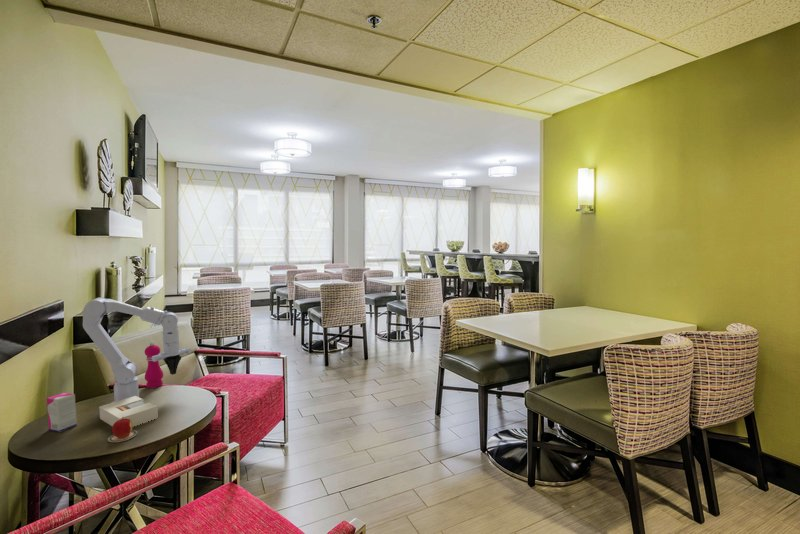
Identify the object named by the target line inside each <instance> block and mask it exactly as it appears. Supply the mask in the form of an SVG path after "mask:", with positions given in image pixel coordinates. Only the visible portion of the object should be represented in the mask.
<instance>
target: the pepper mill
mask: <svg viewBox="0 0 800 534" xmlns="http://www.w3.org/2000/svg"><path fill="white" fill-rule="evenodd" d="M158 354H161V348H160V347H159V346H158V345H157V344H155V342H154V341H151V342H150V343H149V346H146V347H145V349H144V355H145V356H146V358H145V359H146V361H147V369H146V371H145V373H144V380H145V381H146V388H148V389H154V388H158V387H161V386H163V377H164V371H163V369H162V368H161V366H160V364H159V363H160V362H159V360H158V361H155V362H154V361H152V356H155V355H158Z"/></svg>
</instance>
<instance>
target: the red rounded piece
mask: <svg viewBox="0 0 800 534" xmlns="http://www.w3.org/2000/svg"><path fill="white" fill-rule="evenodd" d="M122 418H123V417H122ZM111 427H112V428H111V432H112V435H110V436H108V439H107V441H108V442H110V443H120V442H125V441H128V440H130V439H132V438H134V437H136V436H137V435H138V431H137V430H135V429H133V428H134V427H133V423H132V421H131V420H130V419H120V420H118V421H116V422H115V423H114V424H113V426H111Z"/></svg>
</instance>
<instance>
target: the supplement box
mask: <svg viewBox="0 0 800 534" xmlns="http://www.w3.org/2000/svg"><path fill="white" fill-rule="evenodd" d="M46 409H47V410H46V411H47V420H48V421H47V423H48V431H51V432H56V433H60V432H61V433H62V432H63V431H66V430H68V429H71V428H73V427H77V426H78V425H77V424H78V423H77V408H76V394H75V393H69V392H62V393H59V394H56V395H52V396H49V397H47V398H46Z"/></svg>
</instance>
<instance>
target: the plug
mask: <svg viewBox="0 0 800 534" xmlns="http://www.w3.org/2000/svg"><path fill="white" fill-rule="evenodd" d="M143 404H147V403H146V402H144V401H143V402H142V401H140V402H137V403H133V404H130V405H127V406H126V409H131V408H134V407H137V406H140V405H143Z"/></svg>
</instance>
